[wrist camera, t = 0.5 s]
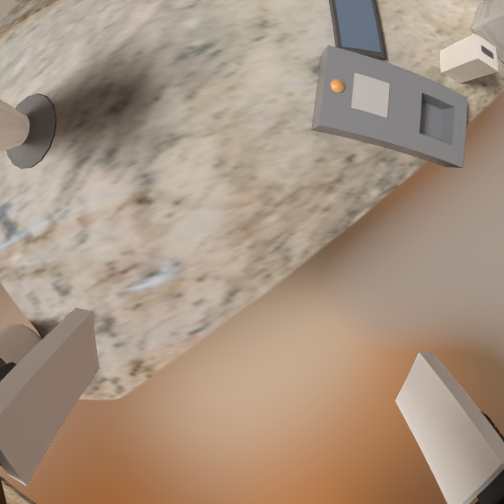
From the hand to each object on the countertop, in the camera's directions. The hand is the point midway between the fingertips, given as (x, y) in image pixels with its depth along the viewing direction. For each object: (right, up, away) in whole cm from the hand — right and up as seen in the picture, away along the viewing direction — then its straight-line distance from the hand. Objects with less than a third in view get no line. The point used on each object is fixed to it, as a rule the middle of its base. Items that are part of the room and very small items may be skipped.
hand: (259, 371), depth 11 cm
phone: (+13, +36, +18) cm, 42 cm away
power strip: (+17, +22, +22) cm, 36 cm away
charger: (+29, +32, +19) cm, 47 cm away
